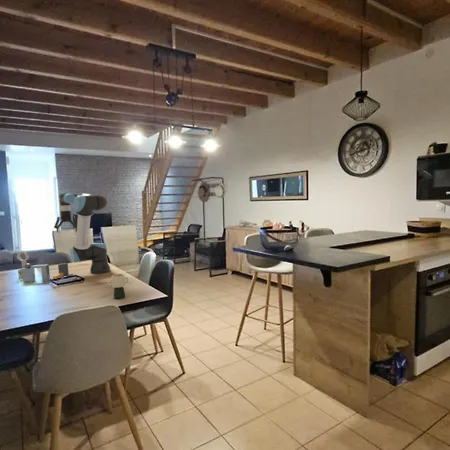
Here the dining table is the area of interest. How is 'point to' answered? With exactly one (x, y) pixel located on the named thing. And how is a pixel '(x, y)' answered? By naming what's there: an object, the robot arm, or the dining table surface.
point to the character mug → (118, 285)
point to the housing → (30, 272)
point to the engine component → (22, 262)
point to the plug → (62, 270)
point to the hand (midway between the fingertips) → (67, 236)
